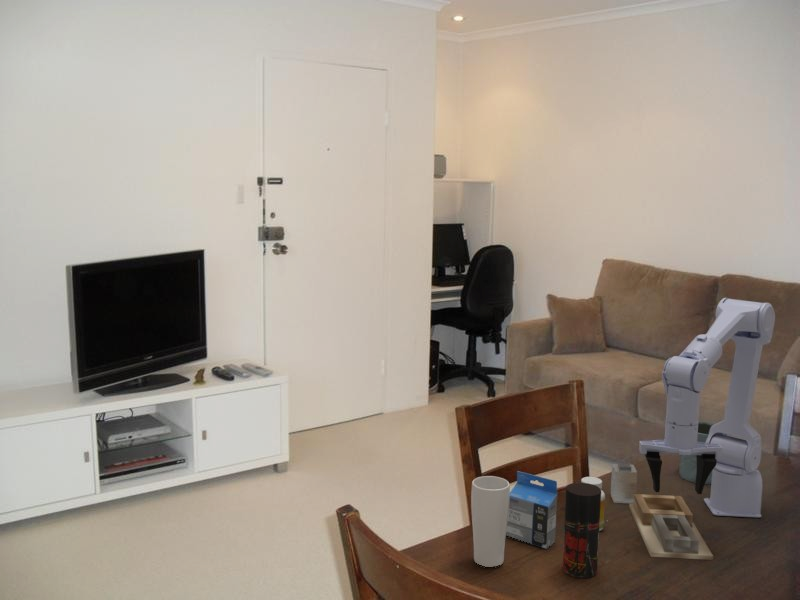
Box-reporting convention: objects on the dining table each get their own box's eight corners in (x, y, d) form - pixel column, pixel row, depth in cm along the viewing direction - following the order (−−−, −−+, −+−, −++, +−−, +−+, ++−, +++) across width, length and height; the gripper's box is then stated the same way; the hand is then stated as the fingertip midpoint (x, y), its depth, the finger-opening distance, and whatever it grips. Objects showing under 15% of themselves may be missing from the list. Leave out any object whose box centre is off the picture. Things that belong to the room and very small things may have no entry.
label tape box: (504, 537, 155) (506, 476, 153) (515, 529, 158) (517, 470, 156) (546, 550, 150) (548, 487, 148) (556, 542, 153) (558, 480, 151)
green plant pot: (673, 467, 192) (676, 419, 190) (717, 470, 191) (721, 421, 189) (681, 484, 182) (685, 432, 180) (728, 486, 181) (732, 435, 179)
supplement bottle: (601, 521, 162) (603, 475, 160) (605, 533, 157) (607, 486, 155) (574, 520, 163) (576, 474, 161) (577, 532, 157) (579, 484, 156)
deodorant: (558, 562, 145) (562, 483, 143) (590, 561, 146) (594, 482, 143) (568, 578, 139) (571, 496, 137) (601, 577, 140) (606, 495, 137)
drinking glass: (497, 575, 140) (500, 493, 138) (463, 564, 144) (464, 484, 141) (513, 559, 146) (516, 480, 144) (480, 550, 149) (482, 472, 147)
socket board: (683, 509, 168) (684, 494, 167) (712, 559, 146) (714, 542, 146) (629, 507, 169) (629, 492, 169) (650, 556, 147) (651, 539, 147)
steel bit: (631, 495, 176) (633, 461, 174) (635, 503, 171) (637, 469, 170) (610, 494, 176) (612, 461, 175) (613, 502, 172) (615, 468, 170)
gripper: (646, 426, 146) (641, 497, 148) (729, 429, 144) (723, 501, 147) (638, 414, 153) (634, 483, 155) (717, 417, 151) (712, 486, 153)
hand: (677, 491), depth 151 cm, fingers open, 7 cm apart
